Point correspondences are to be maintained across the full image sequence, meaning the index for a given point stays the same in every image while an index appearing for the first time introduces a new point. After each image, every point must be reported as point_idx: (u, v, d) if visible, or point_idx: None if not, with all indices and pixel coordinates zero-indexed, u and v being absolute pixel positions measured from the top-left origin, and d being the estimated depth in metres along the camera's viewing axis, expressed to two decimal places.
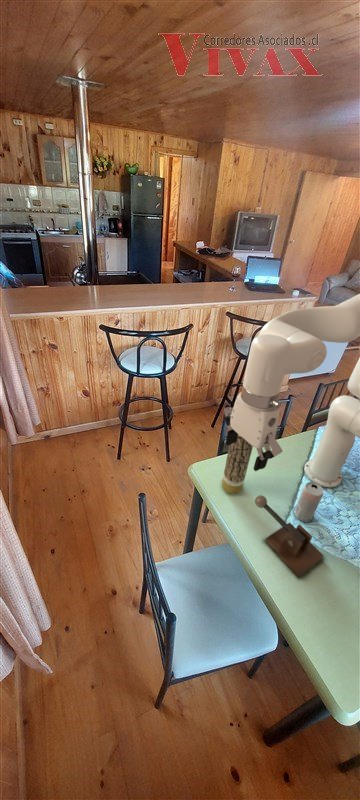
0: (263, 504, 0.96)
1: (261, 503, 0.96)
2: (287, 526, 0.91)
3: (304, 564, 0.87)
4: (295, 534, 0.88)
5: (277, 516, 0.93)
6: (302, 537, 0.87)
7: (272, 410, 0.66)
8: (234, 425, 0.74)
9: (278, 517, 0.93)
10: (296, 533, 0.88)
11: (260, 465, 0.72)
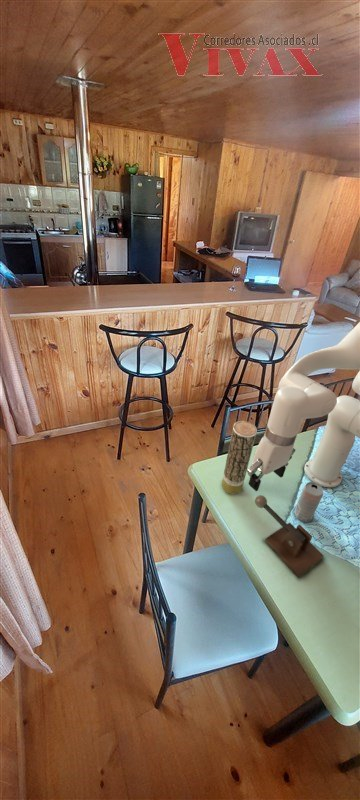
0: (263, 504, 0.96)
1: (261, 503, 0.96)
2: (287, 526, 0.91)
3: (304, 564, 0.87)
4: (295, 534, 0.88)
5: (277, 516, 0.93)
6: (302, 537, 0.87)
7: None
8: (270, 470, 0.85)
9: (278, 517, 0.93)
10: (296, 533, 0.88)
11: None
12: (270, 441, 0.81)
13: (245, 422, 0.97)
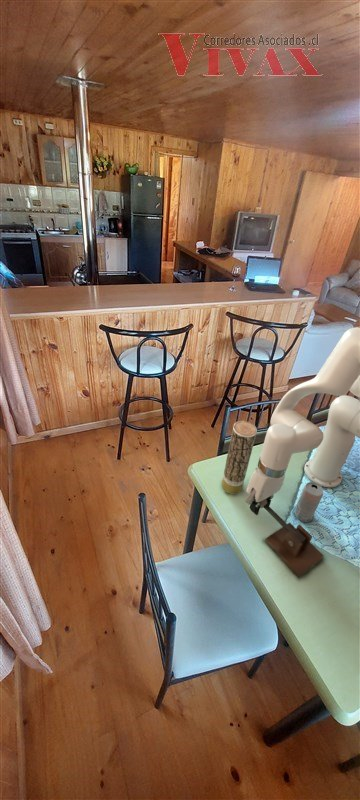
0: (263, 504, 0.96)
1: (261, 503, 0.96)
2: (287, 526, 0.91)
3: (304, 564, 0.87)
4: (295, 534, 0.88)
5: (277, 516, 0.93)
6: (302, 537, 0.87)
7: None
8: (263, 498, 0.92)
9: (278, 517, 0.93)
10: (296, 533, 0.88)
11: None
12: (262, 473, 0.88)
13: (245, 422, 0.97)
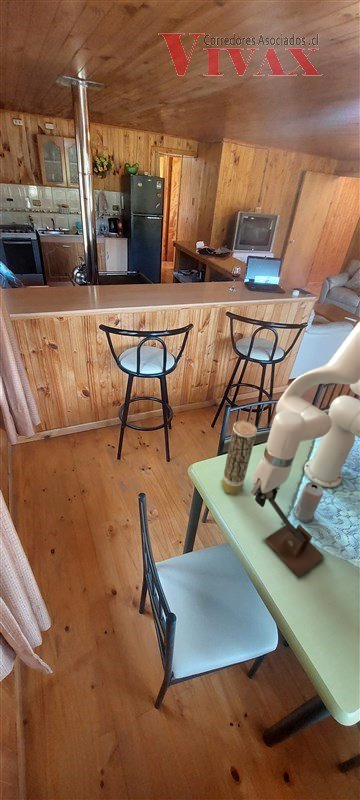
0: (269, 497, 0.93)
1: (267, 496, 0.93)
2: (289, 524, 0.90)
3: (304, 564, 0.87)
4: (297, 535, 0.88)
5: (281, 512, 0.91)
6: (303, 539, 0.87)
7: None
8: (269, 488, 0.88)
9: (281, 514, 0.91)
10: (298, 534, 0.88)
11: None
12: (269, 462, 0.84)
13: (245, 422, 0.97)
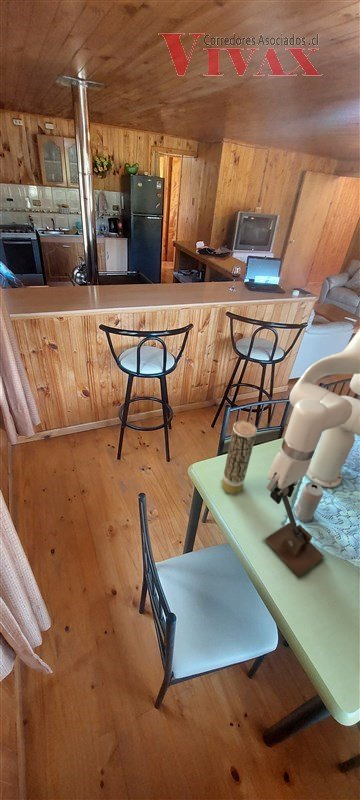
0: (284, 495, 0.88)
1: (283, 494, 0.87)
2: (295, 525, 0.88)
3: (304, 564, 0.87)
4: (299, 537, 0.87)
5: (290, 511, 0.88)
6: (303, 541, 0.87)
7: None
8: (286, 484, 0.82)
9: (290, 513, 0.88)
10: (300, 536, 0.87)
11: None
12: (287, 455, 0.78)
13: (245, 422, 0.97)
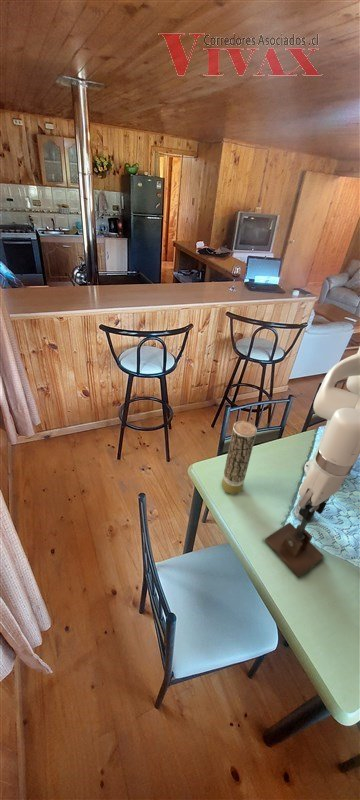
0: None
1: None
2: (303, 530, 0.86)
3: (304, 564, 0.87)
4: (301, 541, 0.87)
5: (306, 521, 0.84)
6: None
7: None
8: (320, 501, 0.74)
9: (306, 522, 0.84)
10: (302, 540, 0.87)
11: None
12: (323, 470, 0.70)
13: (245, 422, 0.97)
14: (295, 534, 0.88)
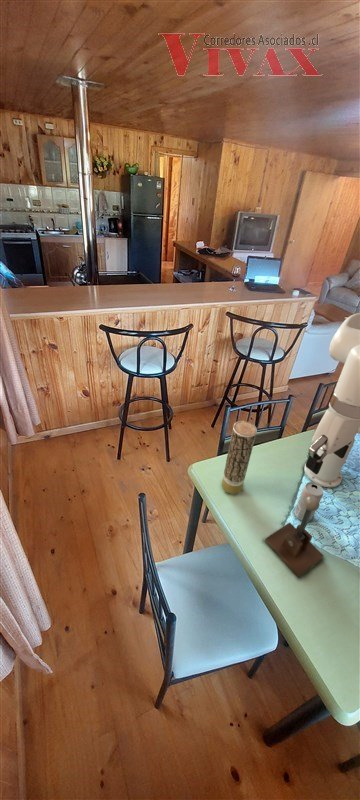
0: (310, 510, 0.81)
1: (310, 510, 0.80)
2: (303, 530, 0.86)
3: (304, 564, 0.87)
4: (301, 541, 0.87)
5: (306, 521, 0.84)
6: None
7: None
8: (335, 448, 0.71)
9: (306, 522, 0.84)
10: (302, 540, 0.87)
11: None
12: (339, 413, 0.67)
13: (245, 422, 0.97)
14: (295, 534, 0.88)
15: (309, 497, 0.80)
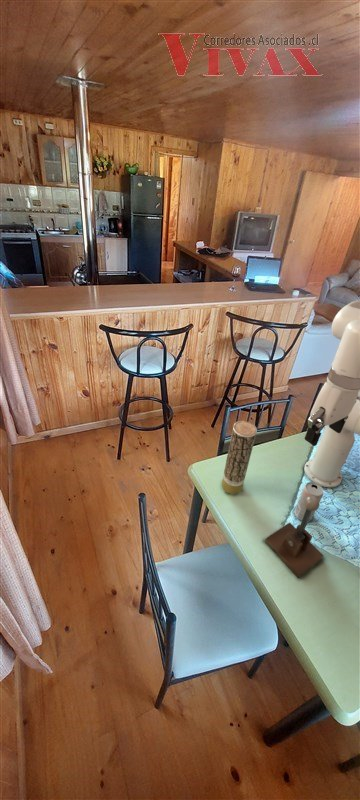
0: (310, 510, 0.81)
1: (310, 510, 0.80)
2: (303, 530, 0.86)
3: (304, 564, 0.87)
4: (301, 541, 0.87)
5: (306, 521, 0.84)
6: None
7: None
8: (332, 420, 0.75)
9: (306, 522, 0.84)
10: (302, 540, 0.87)
11: None
12: (336, 385, 0.71)
13: (245, 422, 0.97)
14: (295, 534, 0.88)
15: (309, 497, 0.80)
